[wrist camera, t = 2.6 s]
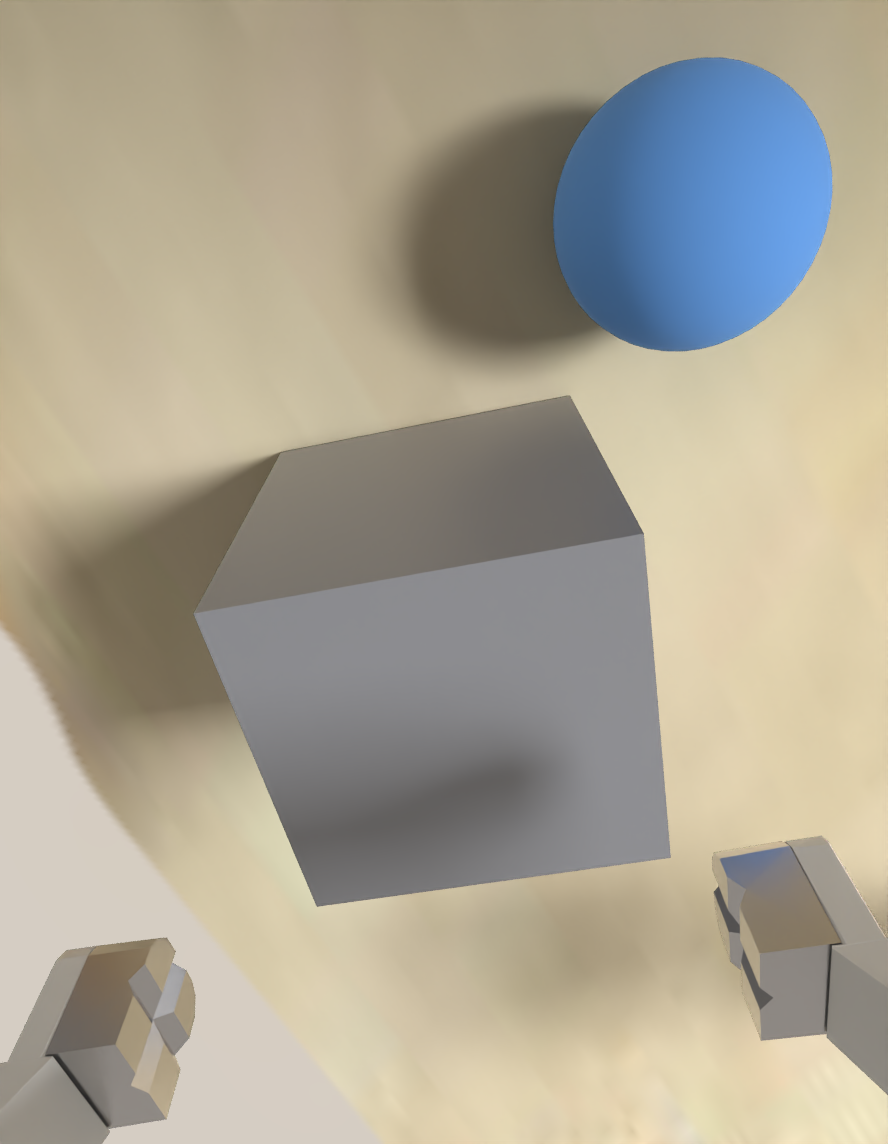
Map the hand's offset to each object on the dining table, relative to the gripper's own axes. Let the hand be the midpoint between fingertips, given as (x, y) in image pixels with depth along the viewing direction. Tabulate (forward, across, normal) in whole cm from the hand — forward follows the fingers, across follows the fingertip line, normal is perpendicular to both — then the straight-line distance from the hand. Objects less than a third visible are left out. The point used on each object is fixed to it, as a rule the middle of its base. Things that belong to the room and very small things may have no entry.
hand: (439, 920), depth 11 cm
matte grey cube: (+11, 0, 0) cm, 11 cm away
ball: (+8, -6, -8) cm, 13 cm away
